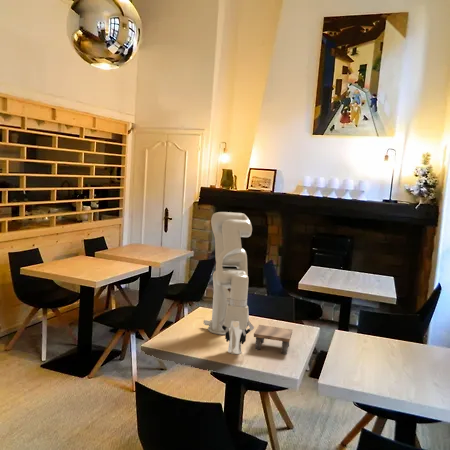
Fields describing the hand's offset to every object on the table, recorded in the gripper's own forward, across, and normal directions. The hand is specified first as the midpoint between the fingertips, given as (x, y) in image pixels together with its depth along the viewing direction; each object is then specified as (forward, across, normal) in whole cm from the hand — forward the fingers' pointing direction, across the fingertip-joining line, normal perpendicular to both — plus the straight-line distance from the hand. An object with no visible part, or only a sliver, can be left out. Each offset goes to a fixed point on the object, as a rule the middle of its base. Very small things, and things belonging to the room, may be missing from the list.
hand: (235, 341), depth 194 cm
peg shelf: (+5, +15, +13) cm, 20 cm away
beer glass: (+5, 0, 0) cm, 5 cm away
